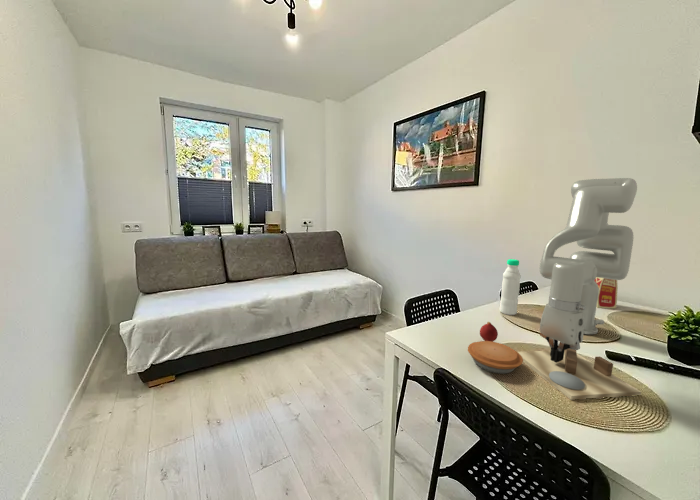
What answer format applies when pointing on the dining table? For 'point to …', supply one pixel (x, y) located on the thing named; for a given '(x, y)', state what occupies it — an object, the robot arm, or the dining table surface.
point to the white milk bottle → (510, 288)
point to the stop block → (603, 366)
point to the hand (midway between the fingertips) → (556, 360)
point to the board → (585, 371)
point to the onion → (488, 332)
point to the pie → (494, 356)
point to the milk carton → (607, 293)
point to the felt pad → (566, 380)
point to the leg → (570, 361)
